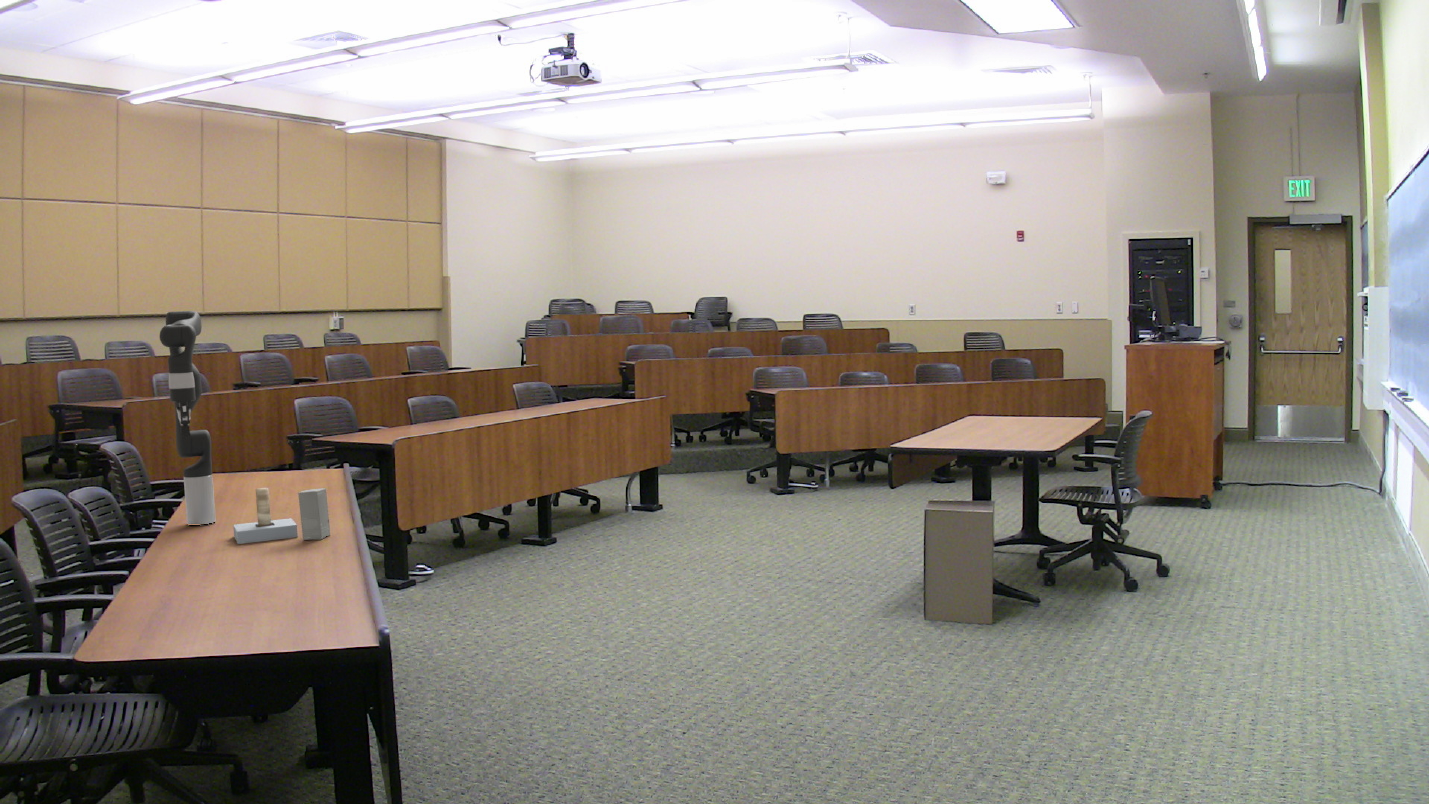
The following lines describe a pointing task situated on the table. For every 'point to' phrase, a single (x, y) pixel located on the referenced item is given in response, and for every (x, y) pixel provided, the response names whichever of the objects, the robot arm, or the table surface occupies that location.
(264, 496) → the dowel
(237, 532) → the seat board
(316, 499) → the skincare box
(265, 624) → the table surface
